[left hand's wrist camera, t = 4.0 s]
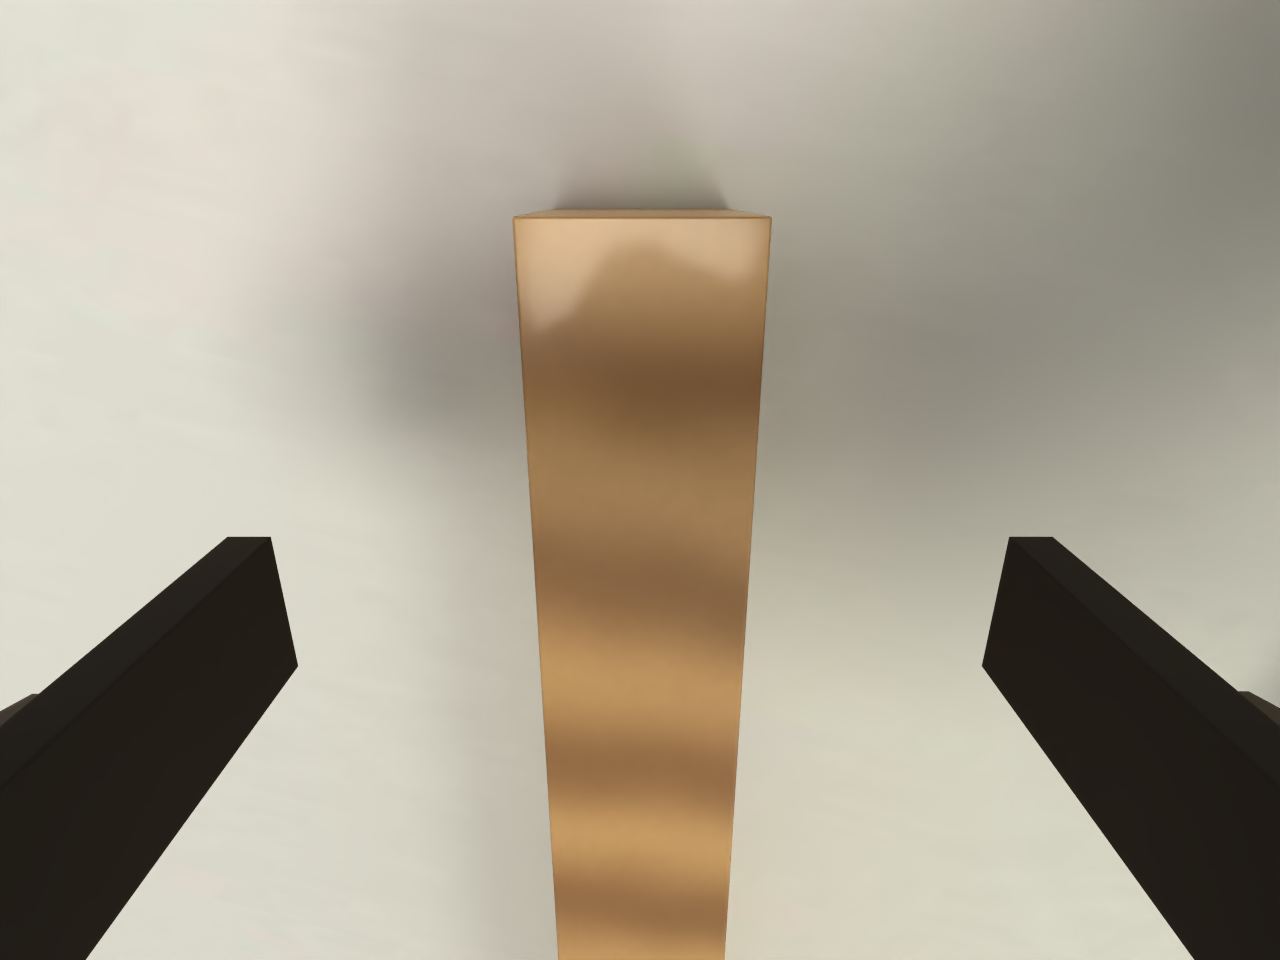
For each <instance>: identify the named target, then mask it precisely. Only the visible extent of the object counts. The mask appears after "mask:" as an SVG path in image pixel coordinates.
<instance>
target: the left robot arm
mask: <svg viewBox="0 0 1280 960" xmlns="http://www.w3.org/2000/svg"><path fill="white" fill-rule="evenodd" d="M297 667H298V663H297V659H296V654H295V649H294V645H293V640H292V635H291V630H290V626H289V621H288V616H287V612H286V607H285V602H284V597H283V593H282V588H281V583H280V579H279V574H278V569H277V564H276V560H275V555H274V550H273V546H272V541H271V537H227V538H226V539H224V540H223V541H222V542H221V543H220V544H218V545H217V546H216V547H215V548H214V549H212V550H211V551H210V552H209V553H208V554H206V555H205V556H204V557H203V558H202V559H200V560H199V561H198V562H197V563H196V564H194V565H193V566H192V567H191V568H190V569H188V570H187V571H186V572H185V573H184V574H182V575H181V576H180V577H179V578H178V579H176V580H175V581H174V582H173V583H172V584H170V585H169V586H168V587H167V588H166V589H164V590H163V591H162V592H161V593H160V594H158V595H157V596H156V597H155V598H154V599H152V600H151V601H150V602H149V603H148V604H146V605H145V606H144V607H143V608H142V609H140V610H139V611H138V612H137V613H136V614H134V615H133V616H132V617H131V618H130V619H128V620H127V621H126V622H125V623H124V624H122V625H121V626H120V627H119V628H118V629H116V630H115V631H114V632H113V633H112V634H110V635H109V636H108V637H107V638H106V639H104V640H103V641H102V642H101V643H100V644H98V645H97V646H96V647H95V648H94V649H92V650H91V651H90V652H89V653H88V654H86V655H85V656H84V657H83V658H82V659H80V660H79V661H78V662H77V663H76V664H74V665H73V666H72V667H71V668H70V669H68V670H67V671H66V672H65V673H64V674H62V675H61V676H60V677H59V678H58V679H56V680H55V681H54V682H53V683H51V684H50V685H49V686H48V687H47V688H45V689H44V690H43V691H42V692H41V693H39V694H31V695H29V696H27V697H26V698H24V699H22V700H20V701H18V702H16V703H15V704H13V705H11V706H9V707H7V708H6V709H4V710H2V711H0V960H86V959H87V957H88V956H89V954H90V953H91V952H92V950H93V949H94V947H95V946H96V945H97V943H98V942H99V941H100V939H101V938H102V936H103V935H104V934H105V932H106V931H107V929H108V928H109V927H110V925H111V924H112V923H113V921H114V920H115V918H116V917H117V916H118V914H119V913H120V912H121V910H122V909H123V907H124V906H125V905H126V903H127V902H128V900H129V899H130V898H131V896H132V895H133V894H134V892H135V891H136V889H137V888H138V887H139V885H140V884H141V882H142V881H143V880H144V878H145V877H146V876H147V874H148V873H149V871H150V870H151V869H152V867H153V866H154V865H155V863H156V862H157V860H158V859H159V858H160V856H161V855H162V853H163V852H164V851H165V849H166V848H167V847H168V845H169V844H170V842H171V841H172V840H173V838H174V837H175V835H176V834H177V833H178V831H179V830H180V829H181V827H182V826H183V824H184V823H185V822H186V820H187V819H188V818H189V816H190V815H191V813H192V812H193V811H194V809H195V808H196V806H197V805H198V804H199V802H200V801H201V800H202V798H203V797H204V795H205V794H206V793H207V791H208V790H209V789H210V787H211V786H212V784H213V783H214V782H215V780H216V779H217V777H218V776H219V775H220V773H221V772H222V771H223V769H224V768H225V766H226V765H227V764H228V762H229V761H230V759H231V758H232V757H233V755H234V754H235V753H236V751H237V750H238V748H239V747H240V746H241V744H242V743H243V742H244V740H245V739H246V737H247V736H248V735H249V733H250V732H251V730H252V729H253V728H254V726H255V725H256V724H257V722H258V721H259V719H260V718H261V717H262V715H263V714H264V712H265V711H266V710H267V708H268V707H269V706H270V704H271V703H272V701H273V700H274V699H275V697H276V696H277V695H278V693H279V692H280V690H281V689H282V688H283V686H284V685H285V683H286V682H287V681H288V679H289V678H290V677H291V675H292V674H293V672H294V671H295V670H296V668H297ZM982 667H983V668H984V670H985V671H986V672H987V674H988V675H989V677H990V678H991V679H992V681H993V682H994V683H995V685H996V686H997V688H998V689H999V690H1000V692H1001V693H1002V695H1003V696H1004V697H1005V699H1006V700H1007V701H1008V703H1009V704H1010V706H1011V707H1012V708H1013V710H1014V711H1015V712H1016V714H1017V715H1018V717H1019V718H1020V719H1021V721H1022V722H1023V724H1024V725H1025V726H1026V728H1027V729H1028V730H1029V732H1030V733H1031V735H1032V736H1033V737H1034V739H1035V740H1036V742H1037V743H1038V744H1039V746H1040V747H1041V748H1042V750H1043V751H1044V753H1045V754H1046V755H1047V757H1048V758H1049V759H1050V761H1051V762H1052V764H1053V765H1054V766H1055V768H1056V769H1057V771H1058V772H1059V773H1060V775H1061V776H1062V777H1063V779H1064V780H1065V782H1066V783H1067V784H1068V786H1069V787H1070V789H1071V790H1072V791H1073V793H1074V794H1075V795H1076V797H1077V798H1078V800H1079V801H1080V802H1081V804H1082V805H1083V806H1084V808H1085V809H1086V811H1087V812H1088V813H1089V815H1090V816H1091V818H1092V819H1093V820H1094V822H1095V823H1096V824H1097V826H1098V827H1099V829H1100V830H1101V831H1102V833H1103V834H1104V835H1105V837H1106V838H1107V840H1108V841H1109V842H1110V844H1111V845H1112V847H1113V848H1114V849H1115V851H1116V852H1117V853H1118V855H1119V856H1120V858H1121V859H1122V860H1123V862H1124V863H1125V865H1126V866H1127V867H1128V869H1129V870H1130V871H1131V873H1132V874H1133V876H1134V877H1135V878H1136V880H1137V881H1138V882H1139V884H1140V885H1141V887H1142V888H1143V889H1144V891H1145V892H1146V894H1147V895H1148V896H1149V898H1150V899H1151V900H1152V902H1153V903H1154V905H1155V906H1156V907H1157V909H1158V910H1159V912H1160V913H1161V914H1162V916H1163V917H1164V918H1165V920H1166V921H1167V923H1168V924H1169V925H1170V927H1171V928H1172V929H1173V931H1174V932H1175V934H1176V935H1177V936H1178V938H1179V939H1180V941H1181V942H1182V943H1183V945H1184V946H1185V947H1186V949H1187V950H1188V952H1189V953H1190V954H1191V956H1192V957H1193V959H1194V960H1280V708H1278V707H1276V706H1275V705H1273V704H1271V703H1269V702H1267V701H1265V700H1264V699H1262V698H1260V697H1258V696H1256V695H1254V694H1252V693H1251V692H1249V691H1237V690H1236V689H1235V688H1233V687H1232V686H1231V685H1230V684H1229V683H1227V682H1226V681H1225V680H1224V679H1222V678H1221V677H1220V676H1219V675H1218V674H1216V673H1215V672H1214V671H1213V670H1212V669H1210V668H1209V667H1208V666H1207V665H1206V664H1204V663H1203V662H1202V661H1201V660H1200V659H1198V658H1197V657H1196V656H1195V655H1194V654H1192V653H1191V652H1190V651H1189V650H1188V649H1186V648H1185V647H1184V646H1183V645H1182V644H1180V643H1179V642H1178V641H1177V640H1176V639H1174V638H1173V637H1172V636H1171V635H1170V634H1168V633H1167V632H1166V631H1165V630H1164V629H1162V628H1161V627H1160V626H1159V625H1158V624H1156V623H1155V622H1154V621H1153V620H1152V619H1150V618H1149V617H1148V616H1147V615H1146V614H1144V613H1143V612H1142V611H1141V610H1140V609H1138V608H1137V607H1136V606H1135V605H1134V604H1132V603H1131V602H1130V601H1129V600H1128V599H1126V598H1125V597H1124V596H1123V595H1122V594H1120V593H1119V592H1118V591H1117V590H1116V589H1114V588H1113V587H1112V586H1111V585H1110V584H1108V583H1107V582H1106V581H1105V580H1104V579H1102V578H1101V577H1100V576H1099V575H1098V574H1096V573H1095V572H1094V571H1093V570H1092V569H1090V568H1089V567H1088V566H1087V565H1086V564H1084V563H1083V562H1082V561H1081V560H1080V559H1078V558H1077V557H1076V556H1075V555H1074V554H1072V553H1071V552H1070V551H1069V550H1068V549H1066V548H1065V547H1064V546H1063V545H1062V544H1060V543H1059V542H1058V541H1057V540H1056V539H1054V538H1053V537H1009V541H1008V545H1007V550H1006V555H1005V560H1004V564H1003V569H1002V574H1001V579H1000V583H999V588H998V593H997V597H996V602H995V607H994V612H993V616H992V621H991V626H990V630H989V635H988V640H987V645H986V649H985V654H984V659H983V663H982Z"/></svg>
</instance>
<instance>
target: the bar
mask: <svg viewBox="0 0 1280 960" xmlns="http://www.w3.org/2000/svg"><path fill="white" fill-rule="evenodd" d="M771 222H772V219H771V217H769V216H764V215H758V214H753V213H747V212H742V211H736V210H730V209H553V210H547V211H542V212H536V213H531V214H526V215H520V216H515V217H513V231H514V248H515V264H516V280H517V296H518V312H519V328H520V345H521V361H522V377H523V393H524V409H525V426H526V442H527V458H528V474H529V490H530V507H531V523H532V539H533V555H534V571H535V587H536V604H537V620H538V636H539V652H540V668H541V685H542V701H543V717H544V733H545V749H546V765H547V782H548V798H549V814H550V830H551V846H552V863H553V879H554V895H555V911H556V927H557V944H558V960H724V957H725V941H726V926H727V910H728V895H729V879H730V863H731V848H732V832H733V816H734V801H735V785H736V769H737V754H738V738H739V722H740V707H741V691H742V676H743V660H744V644H745V629H746V613H747V597H748V582H749V566H750V550H751V535H752V519H753V503H754V488H755V472H756V456H757V441H758V425H759V410H760V394H761V378H762V363H763V347H764V331H765V316H766V300H767V284H768V269H769V253H770V237H771Z"/></svg>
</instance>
